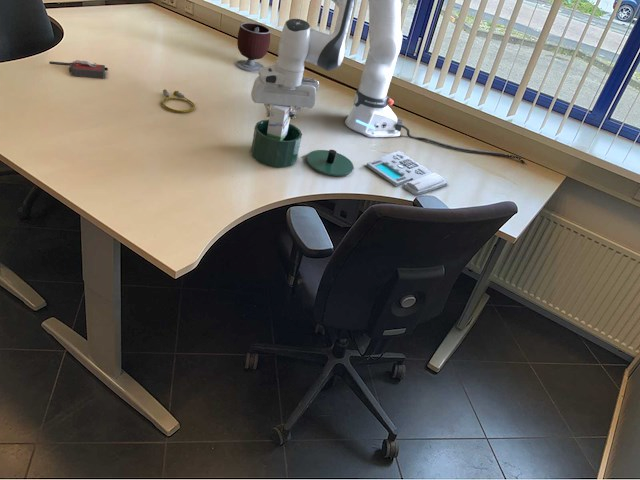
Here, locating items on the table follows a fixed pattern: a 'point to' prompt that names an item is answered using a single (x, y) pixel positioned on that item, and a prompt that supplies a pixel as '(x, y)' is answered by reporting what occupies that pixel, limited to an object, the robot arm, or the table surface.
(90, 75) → the walkie-talkie
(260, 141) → the tin
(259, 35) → the mate gourd
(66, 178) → the table surface
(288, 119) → the ink box
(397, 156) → the office telephone
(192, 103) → the extension cord
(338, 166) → the tin lid
